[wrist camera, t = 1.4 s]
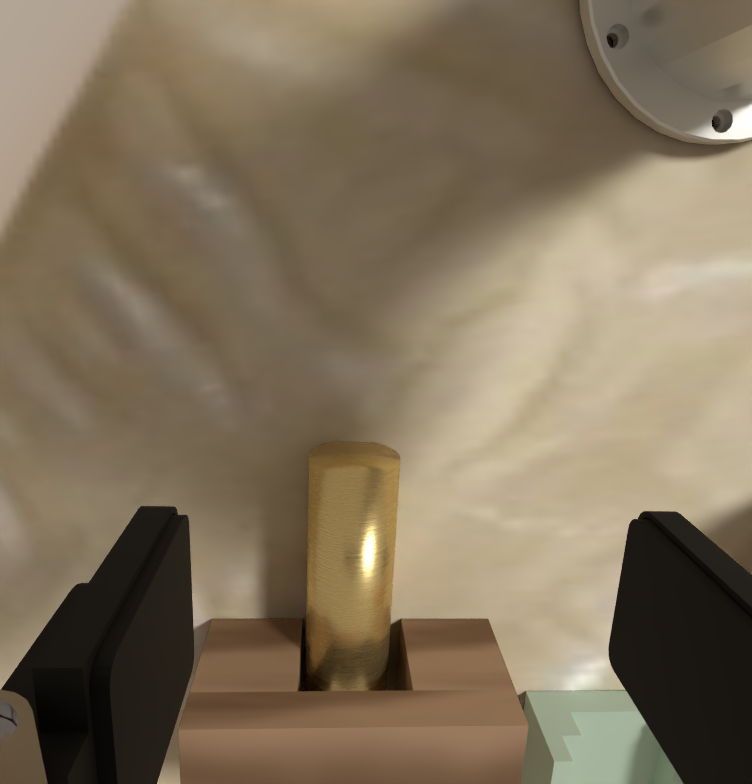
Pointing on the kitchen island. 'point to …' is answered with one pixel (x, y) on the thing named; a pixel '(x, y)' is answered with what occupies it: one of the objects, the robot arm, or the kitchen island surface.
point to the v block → (591, 741)
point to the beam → (352, 712)
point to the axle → (350, 565)
